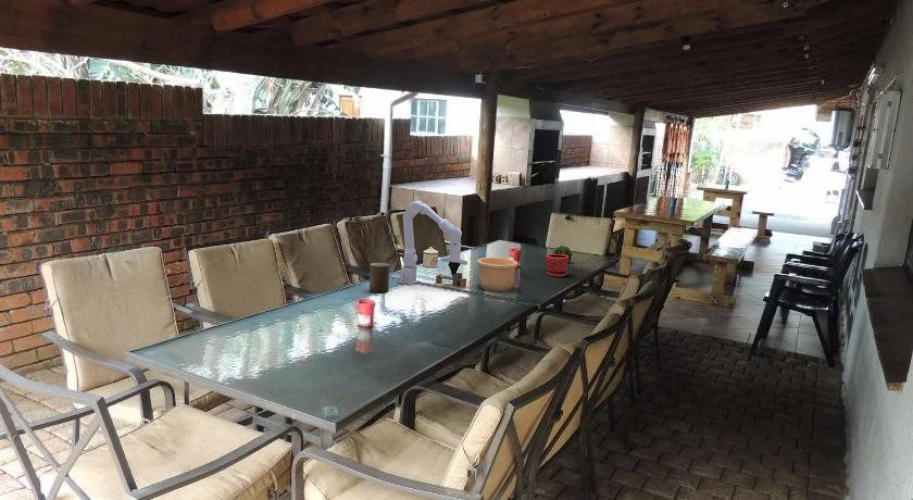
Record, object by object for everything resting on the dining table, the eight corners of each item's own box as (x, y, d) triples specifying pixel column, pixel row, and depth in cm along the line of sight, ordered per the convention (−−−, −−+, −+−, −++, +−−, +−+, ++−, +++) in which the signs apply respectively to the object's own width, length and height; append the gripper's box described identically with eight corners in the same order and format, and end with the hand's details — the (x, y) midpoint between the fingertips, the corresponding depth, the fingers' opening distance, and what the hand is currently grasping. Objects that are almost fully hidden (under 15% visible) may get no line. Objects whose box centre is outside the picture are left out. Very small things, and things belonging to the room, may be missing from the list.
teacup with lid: (432, 268, 390) (433, 249, 388) (419, 266, 394) (420, 247, 392) (442, 265, 401) (443, 246, 398) (430, 263, 405) (431, 244, 403)
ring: (461, 284, 351) (462, 273, 350) (456, 286, 345) (456, 275, 344) (457, 283, 352) (458, 272, 351) (452, 285, 346) (452, 274, 345)
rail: (467, 286, 349) (468, 278, 348) (462, 289, 344) (462, 280, 343) (439, 282, 357) (440, 273, 356) (434, 284, 351) (434, 275, 351)
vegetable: (550, 261, 420) (548, 247, 432) (561, 274, 426) (559, 260, 438) (566, 252, 415) (564, 238, 427) (577, 265, 421) (575, 251, 433)
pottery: (468, 288, 347) (470, 261, 344) (486, 280, 366) (487, 255, 363) (506, 294, 337) (507, 267, 334) (522, 286, 356) (524, 261, 354)
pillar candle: (385, 294, 325) (386, 264, 322) (366, 292, 327) (367, 262, 324) (391, 289, 334) (392, 261, 332) (372, 287, 336) (374, 259, 334)
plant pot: (566, 273, 396) (568, 254, 394) (567, 278, 383) (569, 258, 381) (544, 272, 397) (546, 252, 395) (545, 276, 384) (546, 256, 382)
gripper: (470, 252, 347) (469, 277, 349) (446, 248, 353) (445, 273, 355) (464, 253, 340) (463, 279, 343) (440, 250, 347) (438, 275, 349)
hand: (453, 276), depth 349 cm, fingers closed
